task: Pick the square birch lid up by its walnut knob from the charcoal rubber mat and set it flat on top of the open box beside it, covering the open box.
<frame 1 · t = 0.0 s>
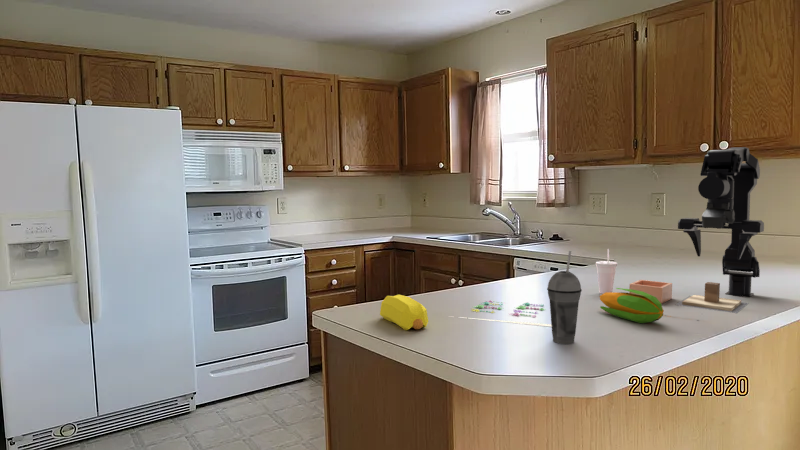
hand: (718, 257, 141), 15 cm above the worktop, fingers open, 9 cm apart
corn: (627, 318, 138), on the worktop
lid: (711, 303, 150), resting on mat
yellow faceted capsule: (403, 324, 135), on the worktop
open box: (650, 300, 157), on the worktop
beverage cup: (563, 342, 119), on the worktop
smoothie: (605, 293, 168), on the worktop
printed paper: (506, 311, 150), on the worktop
mat: (711, 305, 150), on the worktop
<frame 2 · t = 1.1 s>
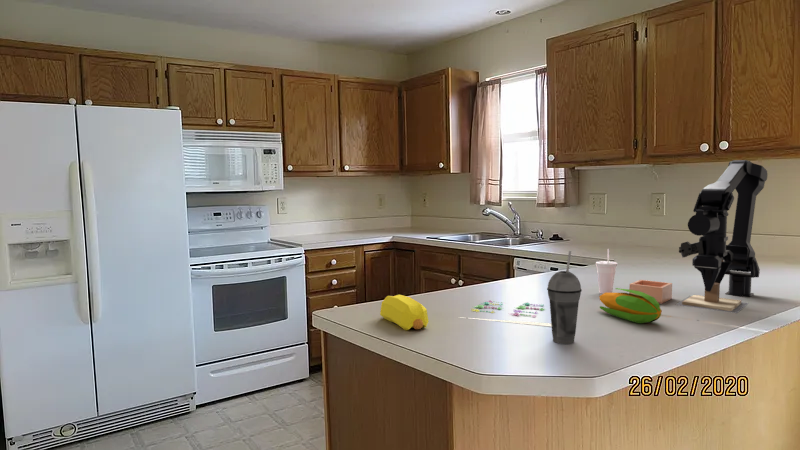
hand: (712, 288, 150), 5 cm above the worktop, fingers open, 9 cm apart
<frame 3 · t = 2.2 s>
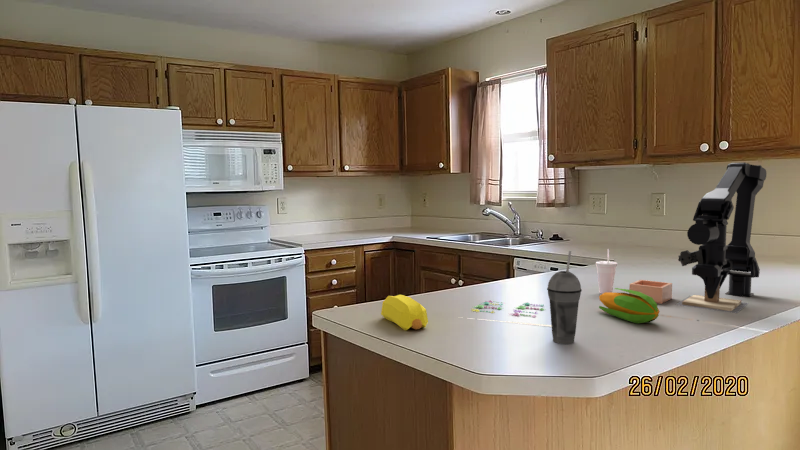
hand: (711, 297, 150), 2 cm above the worktop, fingers closed on lid, 3 cm apart
lid: (711, 303, 150), resting on mat, touching gripper
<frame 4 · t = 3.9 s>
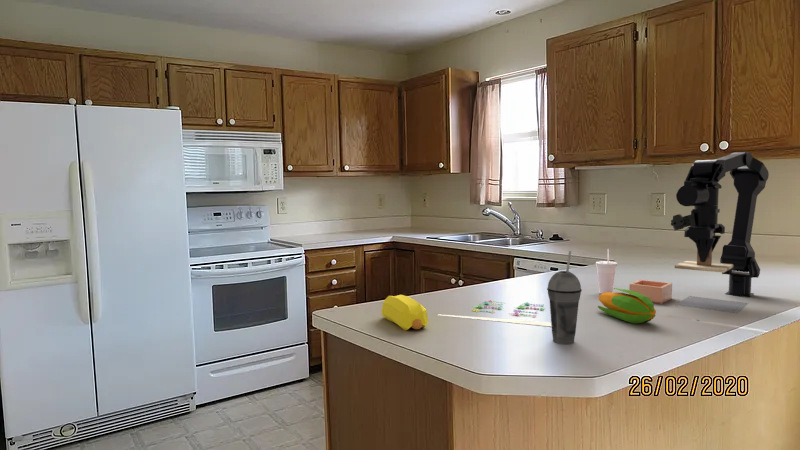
hand: (704, 261, 150), 12 cm above the worktop, fingers closed on lid, 3 cm apart
lid: (704, 267, 150), point 11 cm above the worktop, touching gripper
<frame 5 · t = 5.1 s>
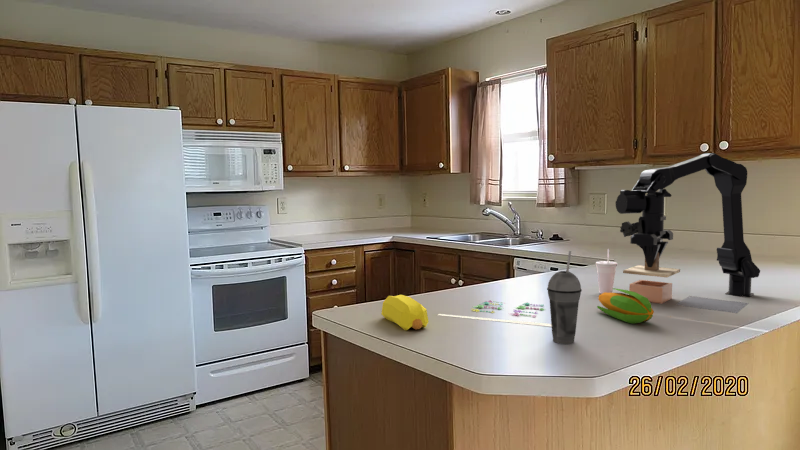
hand: (651, 266, 157), 10 cm above the worktop, fingers closed on lid, 3 cm apart
lid: (651, 272, 157), point 8 cm above the worktop, touching gripper
when the fingers open (8 cm above the worktop, at t = 6.0 s): lid drops 1 cm, resting on open box.
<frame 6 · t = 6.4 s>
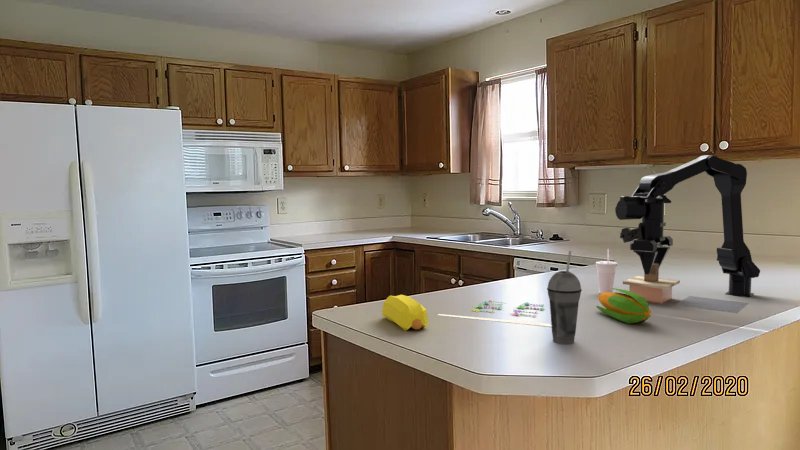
hand: (651, 272, 157), 8 cm above the worktop, fingers open, 7 cm apart
lid: (651, 283, 157), point 5 cm above the worktop, touching open box
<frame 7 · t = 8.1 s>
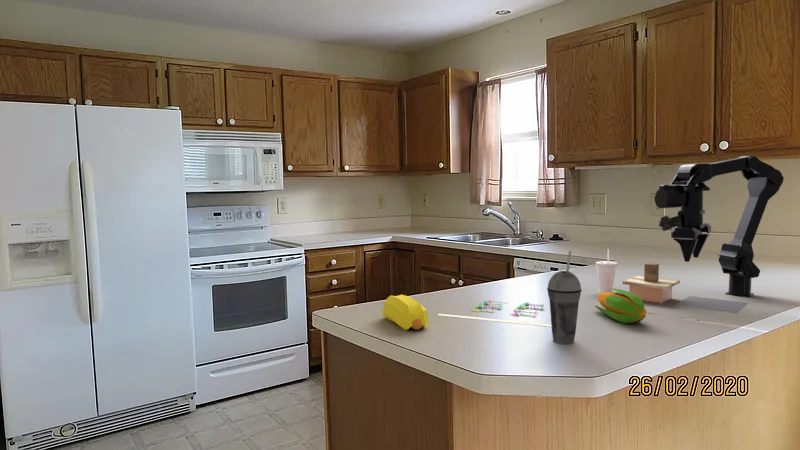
hand: (691, 259, 159), 12 cm above the worktop, fingers open, 9 cm apart
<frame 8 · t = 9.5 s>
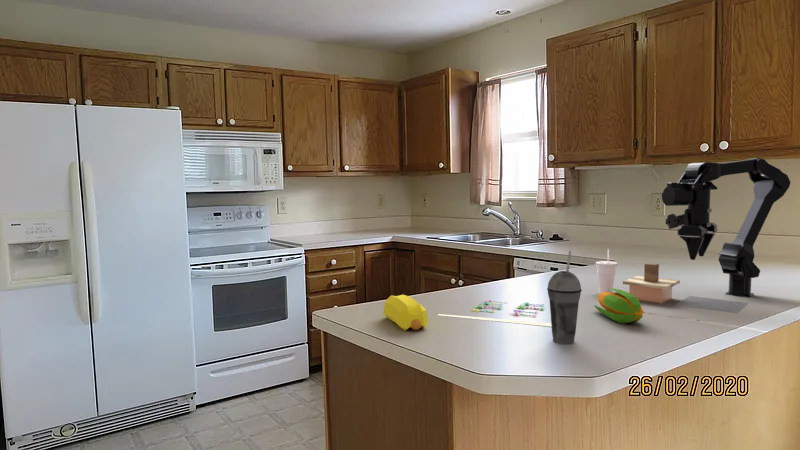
hand: (697, 258, 159), 12 cm above the worktop, fingers open, 9 cm apart
at the end: lid 0.1 cm off-centre on the open box, point 5.0 cm above the open box's base; lid tilted 0°; the gripper is holding nothing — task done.
